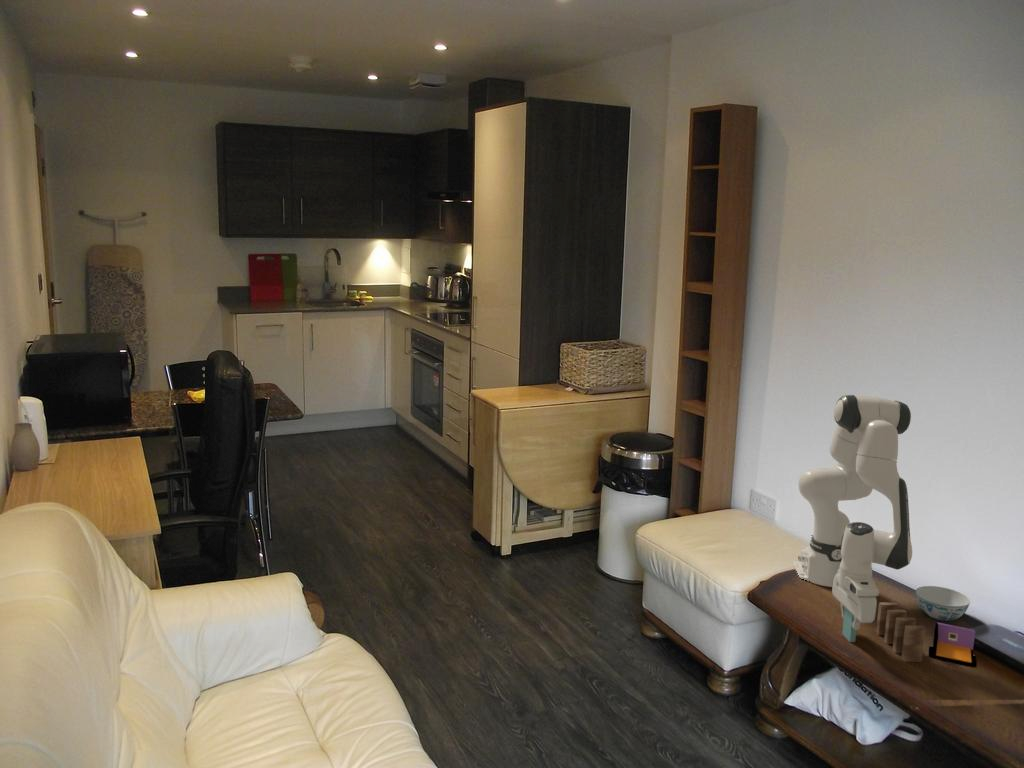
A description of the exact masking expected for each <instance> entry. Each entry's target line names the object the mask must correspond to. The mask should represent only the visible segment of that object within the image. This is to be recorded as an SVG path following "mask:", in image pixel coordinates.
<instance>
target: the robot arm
mask: <svg viewBox="0 0 1024 768" xmlns="http://www.w3.org/2000/svg"><path fill="white" fill-rule="evenodd" d="M833 411H834V412H833V413H834V417H833V418H834V420H835V423H836V424H837V425H836V428H835V431H834V434H833V436H832V440H831V442H830V445H829V453H830V455H831V457H832V458H833V460H835V461H836V462H837V465H836V466H834V467H828V468H814V469H812V470H808V471H805V472H803V473H802V474H800V477H799V480H798V489H799V490H798V491H799V493H800V495H801V496H802V497H803V499H805V500H806V501H807V502H808V503H809V504H810V506H811V509H812V511H813V517H814V519H813V523H814V524H813V534H812V535H810V536H811V537H810V538H811V539H810V542H809V545H808V546H807V547H805V548H802V550H801V551H800V554H798V555H797V560H793V561H792V564H793V567H794V570H795V572H796V571H797V572H796V574H797V573H798V574H797V576H798V575H799V577H800V578H801V579H804V580H803V581H805V580H807V581H806V582H809V581H810V583H813V584H815V585H817V586H821V587H822V586H823V587H828V588H832V589H831V591H832V596H833V597H834V598H835V599H836V600H837V601H838V602H840V603H839V604H840V610H841V618H842V619H843V620H844V612H845V607H846V608H847V609H848V610H849V611H850V612H851V613H852V614H853V615H854V621H853V622H852V625H851V627H852V628H853V629H854V630H856V631H857V630H860V626H861V624H872V623H873V622H874V621H875V619H876V613H877V605H878V601H877V597H878V596H879V595H880V591H879V587H878V586H877V584H876V582H875V580H874V578H873V568H872V567H873V566H872V565H873V564H877V565H881V566H885V567H887V568H891V569H894V570H901V569H903V568H905V567H907V566H908V565H910V563H911V561H912V558H913V545H912V542H911V533H910V532H911V531H910V529H911V528H910V511H909V510H910V509H909V508H910V507H909V495H908V486H907V484H906V480H904V479H903V478H901V476H900V474H899V472H898V466H897V463H898V456H899V435H902V434H904V433H905V432H907V430H908V429H909V426H910V424H911V418H912V413H911V410H910V408H909V406H908V405H907V404H906V403H904V402H902V401H899V400H891V399H887V398H883V397H877V396H874V397H873V396H862V395H861V396H860V395H859V396H858V395H854V394H850V395H849V394H848V395H846V394H845V395H841V397H839V399H837V402H836V404H835V406H834V409H833ZM873 490H875V491H877V492H878V493H880V494H881V495H884V496H885V497H886V498H887V499H888V500H889V501H890V503H891V505H892V514H893V515H892V517H893V520H892V521H893V531H892V532H888V531H887V532H886V531H882V530H877V529H874V527H873V526H872V525H870V524H868V523H866V522H860V521H859V522H858V521H856V522H855V521H854V522H851V521H850V518H849V517H848V516H847V515H846V514H845V513H844V512H842V511H841V510H839V501H840V502H843V501H857V500H859V499H860V500H861V499H863V498H867V497H868V496H870V495H871V494H872V491H873ZM799 577H798V578H799ZM801 579H800V580H801Z"/></svg>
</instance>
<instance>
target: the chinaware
mask: <svg viewBox="0 0 1024 768" xmlns="http://www.w3.org/2000/svg"><path fill="white" fill-rule="evenodd" d="M915 597H916V601H917V603H918V604H917V605H918V606H919V607H920V609H921V610H922V612H924V613H925V615H927V616H929V617H930V618H932V619H935V620H939V621H943V622H944V621H945V622H949V621H955V620H957V619H959V618H960V617H962V616H963V615H965V613H966V612H967V610H968V608H969V606H970V604H971V600H970V598H969V597H968V596H967V595H966V594H964V593H961V592H960V591H957V590H954V589H952V588H951V589H950V588H948V587H943V586H934V585H924V586H919V587H917V588H916V589H915Z"/></svg>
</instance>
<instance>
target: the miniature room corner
mask: <svg viewBox="0 0 1024 768" xmlns="http://www.w3.org/2000/svg"><path fill="white" fill-rule="evenodd" d="M951 635H955V638H954V637H953V638H952V637H951ZM975 635H976V631H975V629H972V628H967V627H961V626H957V625H952V624H947V623H942V622H935V625H934V632H933V639H932V646H931V645H930V646H928V657H929V658H930V659H933V660H937V661H941V662H946V663H951V664H956V665H959V666H963V665H964V666H965V667H969V668H974V667H975V668H977V666H978V665H977V656H973V654H974V653H973V650H974V643H975Z"/></svg>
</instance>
